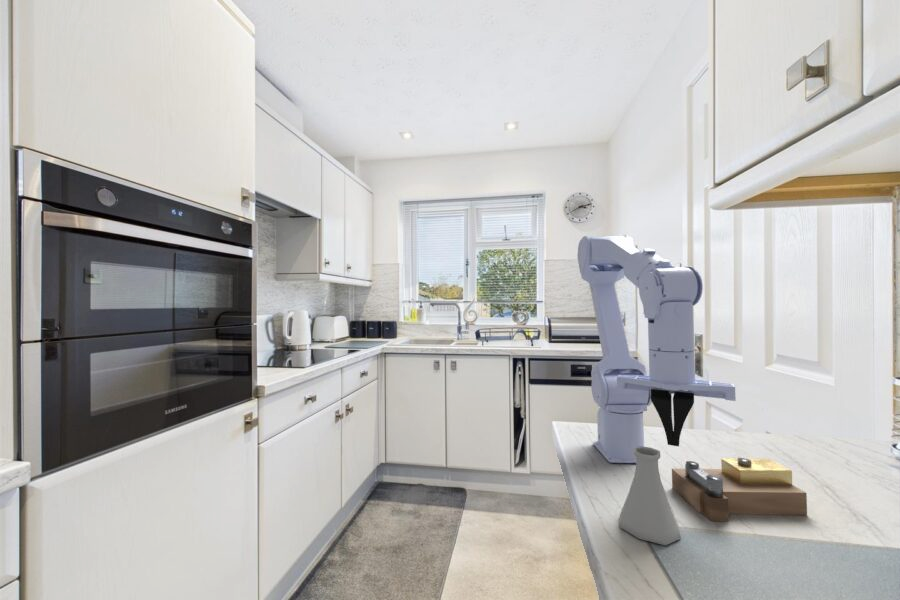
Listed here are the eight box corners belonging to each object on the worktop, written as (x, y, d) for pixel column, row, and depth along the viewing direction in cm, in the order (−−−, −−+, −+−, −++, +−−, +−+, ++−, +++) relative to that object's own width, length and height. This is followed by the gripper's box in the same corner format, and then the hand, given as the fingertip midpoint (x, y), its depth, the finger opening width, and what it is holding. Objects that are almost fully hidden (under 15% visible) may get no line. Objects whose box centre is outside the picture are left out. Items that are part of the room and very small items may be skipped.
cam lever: (683, 474, 55) (683, 459, 55) (695, 474, 55) (695, 459, 55) (712, 497, 49) (711, 481, 49) (726, 497, 49) (725, 481, 49)
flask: (609, 528, 48) (607, 451, 48) (629, 506, 53) (627, 436, 53) (672, 555, 42) (670, 468, 43) (688, 527, 47) (686, 450, 48)
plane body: (672, 487, 57) (671, 468, 57) (765, 489, 57) (765, 469, 57) (708, 520, 49) (707, 498, 49) (819, 522, 48) (818, 499, 48)
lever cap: (721, 471, 56) (721, 454, 56) (769, 471, 56) (768, 454, 56) (740, 484, 52) (740, 465, 52) (792, 484, 52) (791, 466, 52)
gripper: (612, 350, 54) (614, 442, 54) (736, 356, 46) (739, 464, 46) (620, 345, 60) (622, 428, 60) (731, 350, 52) (734, 446, 52)
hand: (673, 443), depth 53 cm, fingers closed
